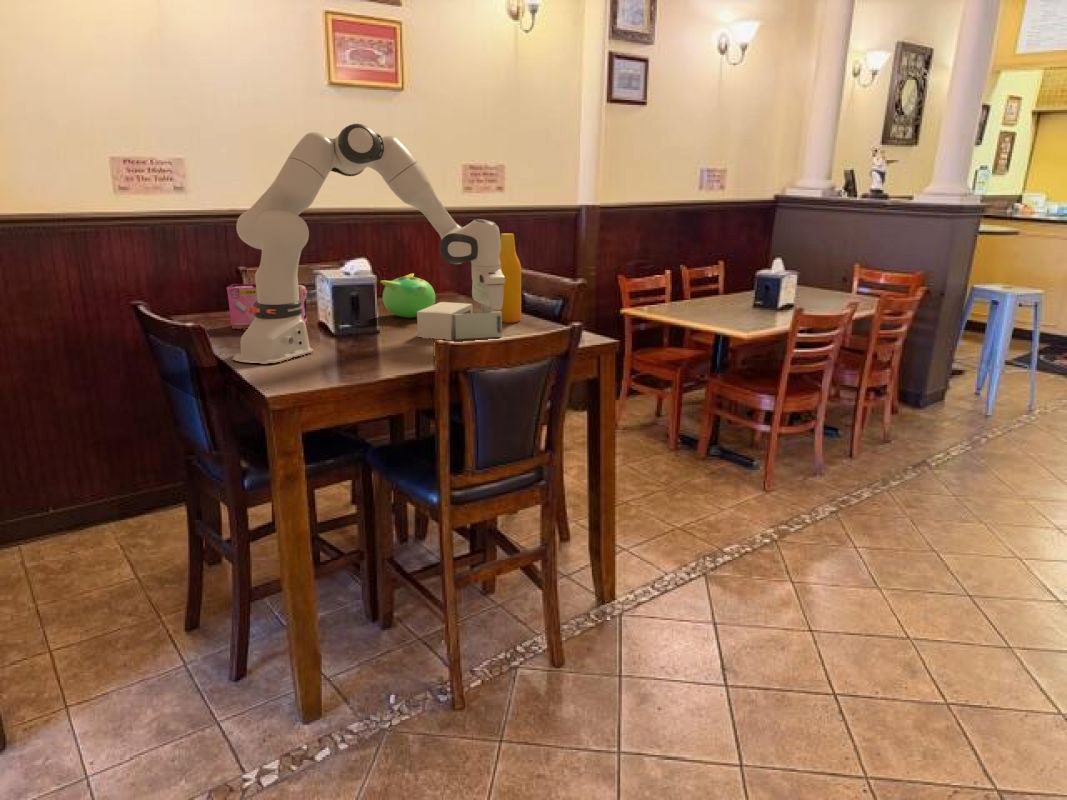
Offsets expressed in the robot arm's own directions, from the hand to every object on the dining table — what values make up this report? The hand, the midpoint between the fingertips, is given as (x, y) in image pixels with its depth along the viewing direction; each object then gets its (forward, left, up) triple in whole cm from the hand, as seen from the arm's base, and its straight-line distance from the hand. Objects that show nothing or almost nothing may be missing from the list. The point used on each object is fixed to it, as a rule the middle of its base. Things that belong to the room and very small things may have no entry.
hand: (486, 319), depth 232 cm
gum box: (-10, +71, -6) cm, 72 cm away
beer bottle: (+25, +2, -6) cm, 26 cm away
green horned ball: (+19, +36, -6) cm, 41 cm away
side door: (-4, +2, -5) cm, 7 cm away
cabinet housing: (0, +14, -5) cm, 15 cm away
